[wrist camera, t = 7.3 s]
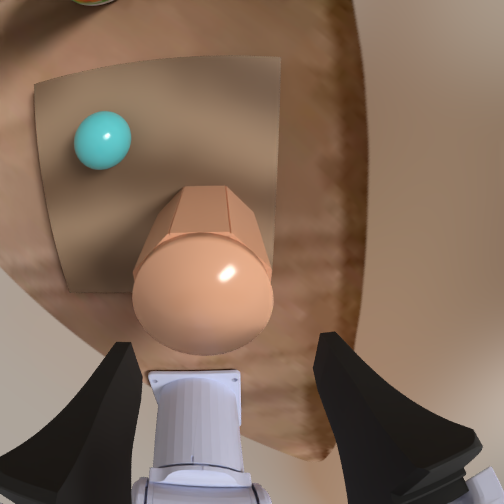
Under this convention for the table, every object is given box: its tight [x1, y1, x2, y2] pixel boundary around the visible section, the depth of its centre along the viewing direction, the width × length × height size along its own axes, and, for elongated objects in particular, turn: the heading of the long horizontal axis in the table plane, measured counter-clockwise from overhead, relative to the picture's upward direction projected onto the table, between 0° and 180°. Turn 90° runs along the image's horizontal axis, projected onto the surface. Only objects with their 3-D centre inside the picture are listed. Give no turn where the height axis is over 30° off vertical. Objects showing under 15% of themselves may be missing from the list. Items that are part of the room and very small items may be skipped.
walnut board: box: [34, 56, 281, 293], centre depth 17 cm, size 14×14×1 cm
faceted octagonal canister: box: [132, 186, 273, 356], centre depth 15 cm, size 6×6×7 cm
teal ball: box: [74, 111, 131, 170], centre depth 13 cm, size 3×3×3 cm
